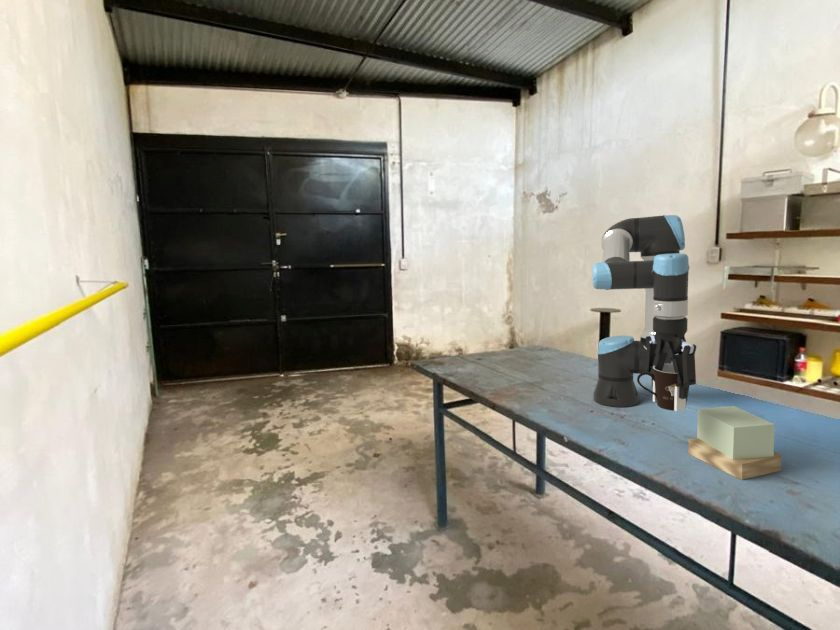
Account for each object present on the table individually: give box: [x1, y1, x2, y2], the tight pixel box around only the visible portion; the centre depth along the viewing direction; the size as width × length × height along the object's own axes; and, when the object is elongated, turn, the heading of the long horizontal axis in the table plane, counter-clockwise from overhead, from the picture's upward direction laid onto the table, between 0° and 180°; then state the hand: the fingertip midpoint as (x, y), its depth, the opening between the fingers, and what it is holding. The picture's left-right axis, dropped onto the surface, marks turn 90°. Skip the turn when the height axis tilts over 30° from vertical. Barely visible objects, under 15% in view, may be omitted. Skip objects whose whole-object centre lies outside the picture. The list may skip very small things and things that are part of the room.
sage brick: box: [696, 405, 776, 460], centre depth 113 cm, size 13×10×8 cm
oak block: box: [687, 437, 782, 481], centre depth 114 cm, size 15×12×4 cm
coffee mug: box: [636, 364, 690, 412], centre depth 115 cm, size 12×9×10 cm
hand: (668, 405), depth 115 cm, fingers closed on coffee mug, 6 cm apart
